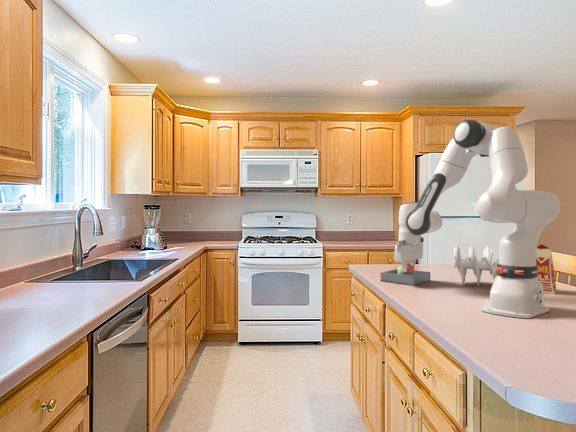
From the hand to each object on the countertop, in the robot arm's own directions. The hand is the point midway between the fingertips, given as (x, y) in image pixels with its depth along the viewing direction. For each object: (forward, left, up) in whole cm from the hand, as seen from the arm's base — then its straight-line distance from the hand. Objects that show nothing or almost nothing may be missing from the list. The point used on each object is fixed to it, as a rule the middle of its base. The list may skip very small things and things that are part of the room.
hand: (408, 270), depth 183 cm
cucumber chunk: (+4, +5, -5) cm, 8 cm away
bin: (+3, +3, -5) cm, 7 cm away
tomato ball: (0, 0, -2) cm, 2 cm away
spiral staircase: (+16, -27, -6) cm, 32 cm away
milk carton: (+20, -47, -6) cm, 51 cm away
